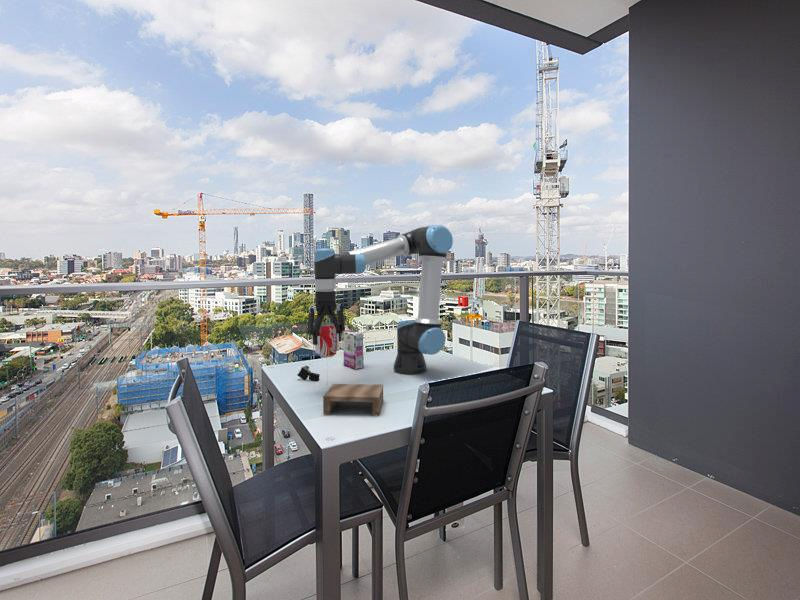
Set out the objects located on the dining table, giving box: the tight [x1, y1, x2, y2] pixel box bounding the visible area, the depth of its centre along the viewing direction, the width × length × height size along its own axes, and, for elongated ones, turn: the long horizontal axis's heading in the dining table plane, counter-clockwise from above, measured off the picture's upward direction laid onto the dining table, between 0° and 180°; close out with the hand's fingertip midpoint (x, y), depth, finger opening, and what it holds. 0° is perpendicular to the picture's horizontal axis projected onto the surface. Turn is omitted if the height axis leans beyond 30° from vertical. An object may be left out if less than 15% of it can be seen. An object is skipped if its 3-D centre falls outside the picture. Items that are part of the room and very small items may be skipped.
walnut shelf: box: [322, 383, 384, 417], centre depth 137 cm, size 18×14×6 cm
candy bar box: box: [342, 331, 365, 371], centre depth 192 cm, size 11×5×16 cm, turn 37°
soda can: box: [317, 322, 338, 358], centre depth 152 cm, size 7×7×12 cm
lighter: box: [296, 365, 321, 382], centre depth 171 cm, size 9×2×6 cm
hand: (327, 351), depth 152 cm, fingers closed on soda can, 7 cm apart
